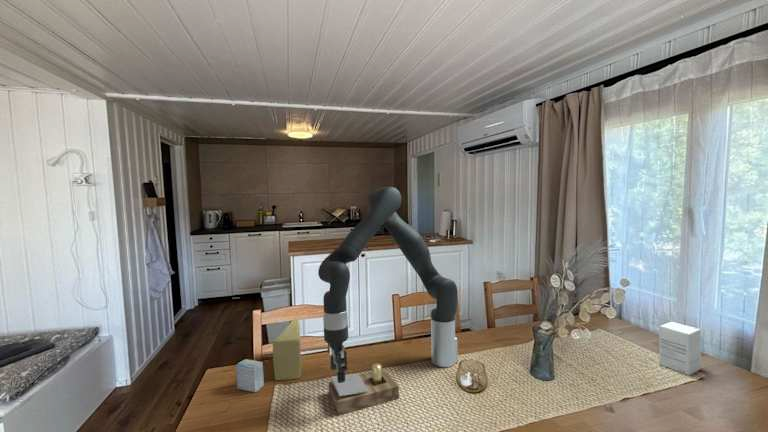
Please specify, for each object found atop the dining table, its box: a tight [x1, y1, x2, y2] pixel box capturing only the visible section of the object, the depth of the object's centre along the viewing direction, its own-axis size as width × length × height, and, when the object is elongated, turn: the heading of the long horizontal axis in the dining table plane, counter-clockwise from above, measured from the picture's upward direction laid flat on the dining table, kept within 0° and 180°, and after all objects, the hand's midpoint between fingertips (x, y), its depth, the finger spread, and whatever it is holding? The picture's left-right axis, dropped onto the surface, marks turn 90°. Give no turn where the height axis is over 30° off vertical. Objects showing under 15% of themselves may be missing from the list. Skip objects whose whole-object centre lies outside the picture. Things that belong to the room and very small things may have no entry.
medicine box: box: [235, 358, 265, 393], centre depth 110 cm, size 8×4×9 cm, turn 71°
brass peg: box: [371, 363, 382, 386], centre depth 105 cm, size 3×3×9 cm
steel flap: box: [331, 372, 368, 396], centre depth 102 cm, size 9×10×1 cm
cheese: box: [272, 318, 302, 381], centre depth 125 cm, size 22×10×15 cm, turn 6°
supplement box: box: [658, 321, 702, 376], centre depth 117 cm, size 9×9×15 cm
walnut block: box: [328, 368, 400, 416], centre depth 104 cm, size 20×12×4 cm, turn 113°
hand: (337, 375), depth 100 cm, fingers open, 8 cm apart
